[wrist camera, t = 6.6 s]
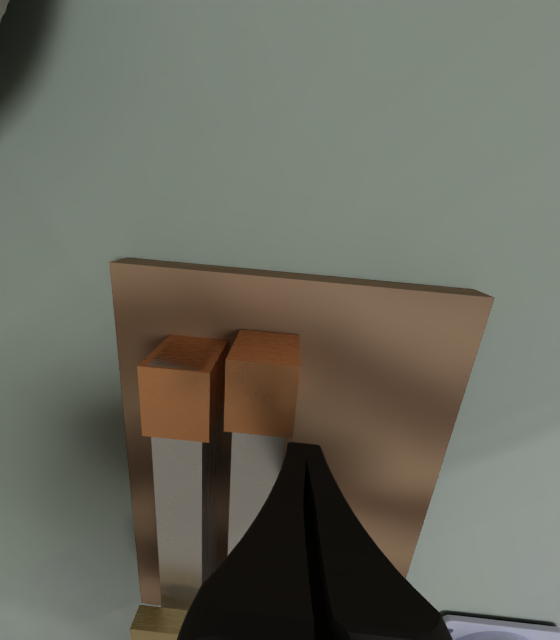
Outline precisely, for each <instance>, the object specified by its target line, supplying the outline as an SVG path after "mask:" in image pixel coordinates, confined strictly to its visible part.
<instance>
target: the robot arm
mask: <svg viewBox="0 0 560 640" xmlns="http://www.w3.org/2000/svg"><path fill="white" fill-rule="evenodd" d="M177 640H560V628H558V627H555V626H546V625H537V624H529V623H520V622H511V621H502V620H493V619H484V618H475V617H466V616H457V615H445V616H443V617H442V615H441V614H440V613H439V612H438V611H437V610H436V609H435V608H434V607H433V606H432V605H431V604H430V603H429V602H428V601H427V600H426V599H425V598H424V597H423V596H422V595H421V594H420V593H419V592H418V591H417V590H416V589H415V588H414V587H413V586H412V585H411V584H410V583H409V582H408V581H407V580H406V579H405V578H404V577H403V576H402V575H401V573H400V572H399V571H398V570H397V569H396V568H395V567H394V565H393V564H392V563H391V562H390V561H389V559H388V558H387V557H386V556H385V555H384V553H383V552H382V551H381V550H380V549H379V547H378V546H377V545H376V543H375V542H374V541H373V539H372V538H371V537H370V535H369V534H368V533H367V531H366V530H365V528H364V527H363V526H362V524H361V523H360V521H359V520H358V518H357V517H356V515H355V514H354V512H353V510H352V509H351V507H350V506H349V504H348V502H347V501H346V499H345V497H344V495H343V494H342V492H341V490H340V488H339V486H338V484H337V482H336V480H335V478H334V476H333V474H332V472H331V470H330V468H329V466H328V464H327V461H326V459H325V456H324V454H323V451H322V448H321V447H320V445H316V444H306V443H297V442H289V443H288V444H287V451H286V455H285V458H284V462H283V464H282V467H281V470H280V472H279V475H278V477H277V479H276V482H275V484H274V486H273V488H272V490H271V492H270V494H269V496H268V498H267V500H266V501H265V503H264V505H263V507H262V508H261V510H260V512H259V513H258V515H257V517H256V518H255V520H254V521H253V523H252V524H251V526H250V527H249V529H248V530H247V531H246V533H245V534H244V536H243V537H242V538H241V540H240V541H239V542H238V544H237V545H236V546H235V547H234V549H233V550H232V551H231V552H230V554H229V555H228V556H227V557H226V559H225V560H224V561H223V562H222V563H221V564H220V566H219V567H218V568H217V569H216V570H215V571H214V572H213V573H212V574H211V575H210V576H209V577H208V579H207V580H206V581H205V582H204V583H203V584H202V585H201V587H200V589H199V591H198V593H197V594H196V596H195V598H194V600H193V602H192V604H191V606H190V608H189V610H188V612H187V614H186V616H185V619H184V621H183V624H182V626H181V629H180V631H179V634H178V638H177Z"/></svg>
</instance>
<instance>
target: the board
mask: <svg viewBox="0 0 560 640" xmlns="http://www.w3.org/2000/svg"><path fill="white" fill-rule="evenodd" d="M110 273H111V284H112V294H113V305H114V316H115V326H116V337H117V348H118V358H119V369H120V380H121V390H122V401H123V412H124V422H125V433H126V444H127V454H128V465H129V476H130V486H131V497H132V508H133V518H134V529H135V540H136V550H137V561H138V572H139V582H140V593H141V603H145V604H154V605H161V589H160V573H159V556H158V540H157V524H156V508H155V492H154V476H153V459H152V443H151V437H148V436H142V427H141V414H140V400H139V386H138V373H137V366H138V365H139V364H140V363H141V362H142V361H143V360H144V359H145V358H146V357H147V356H148V355H149V354H150V353H151V352H153V351H154V350H155V349H156V348H157V347H158V346H159V345H160V344H161V343H162V342H163V341H164V340H165V339H166V338H167V337H168V336H169V335H171V334H172V335H182V336H192V337H203V338H213V339H224V340H228V354H229V352H230V350H231V347H232V345H233V343H234V341H235V339H236V337H237V335H238V333H239V331H240V329H241V330H252V331H263V332H274V333H284V334H295V335H300V364H301V367H300V376H299V385H298V394H297V403H296V412H295V421H294V429H293V438H285V437H284V447H283V456H282V464H283V462H284V458H285V455H286V451H287V444H288V443H289V442H297V443H306V444H316V445H320V447H321V448H322V451H323V454H324V456H325V459H326V461H327V464H328V466H329V468H330V470H331V472H332V474H333V476H334V478H335V480H336V482H337V484H338V486H339V488H340V490H341V492H342V494H343V495H344V497H345V499H346V501H347V502H348V504H349V506H350V507H351V509H352V510H353V512H354V514H355V515H356V517H357V518H358V520H359V521H360V523H361V524H362V526H363V527H364V528H365V530H366V531H367V533H368V534H369V535H370V537H371V538H372V539H373V541H374V542H375V543H376V545H377V546H378V547H379V549H380V550H381V551H382V552H383V553H384V555H385V556H386V557H387V558H388V559H389V561H390V562H391V563H392V564H393V565H394V567H395V568H396V569H397V570H398V571H399V572H400V573H401V575H402V576H403V577H404V578H405V579H406V576H407V573H408V570H409V566H410V563H411V560H412V557H413V554H414V551H415V547H416V544H417V541H418V538H419V535H420V532H421V529H422V525H423V522H424V519H425V516H426V513H427V510H428V506H429V503H430V500H431V497H432V494H433V491H434V488H435V484H436V481H437V478H438V475H439V472H440V469H441V465H442V462H443V459H444V456H445V453H446V450H447V446H448V443H449V440H450V437H451V434H452V431H453V428H454V424H455V421H456V418H457V415H458V412H459V409H460V405H461V402H462V399H463V396H464V393H465V390H466V387H467V383H468V380H469V377H470V374H471V371H472V368H473V364H474V361H475V358H476V355H477V352H478V349H479V345H480V342H481V339H482V336H483V333H484V330H485V327H486V323H487V320H488V317H489V314H490V311H491V308H492V304H493V301H494V297H492V296H489V295H487V294H484V293H482V292H479V291H477V290H475V289H464V288H453V287H442V286H431V285H420V284H409V283H398V282H387V281H376V280H365V279H355V278H344V277H333V276H322V275H311V274H300V273H289V272H278V271H267V270H256V269H246V268H235V267H224V266H213V265H202V264H191V263H180V262H169V261H158V260H147V259H136V258H125V259H121V260H117V261H113V262H110ZM231 449H232V432H224V405H223V408H222V410H221V413H220V421H219V462H218V504H217V545H216V569H217V568H218V567H219V566H220V564H221V563H222V562H223V561H224V560H225V559H226V557H227V556H228V532H229V504H230V477H231ZM281 467H282V466H281Z"/></svg>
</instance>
